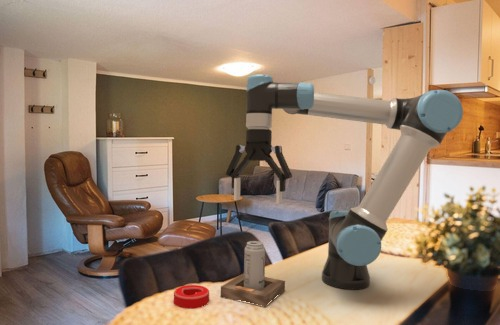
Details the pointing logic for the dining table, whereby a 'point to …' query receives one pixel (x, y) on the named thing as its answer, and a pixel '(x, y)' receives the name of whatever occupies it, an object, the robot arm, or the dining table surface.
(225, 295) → the frame
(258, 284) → the energy drink can
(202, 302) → the decorative ornament
